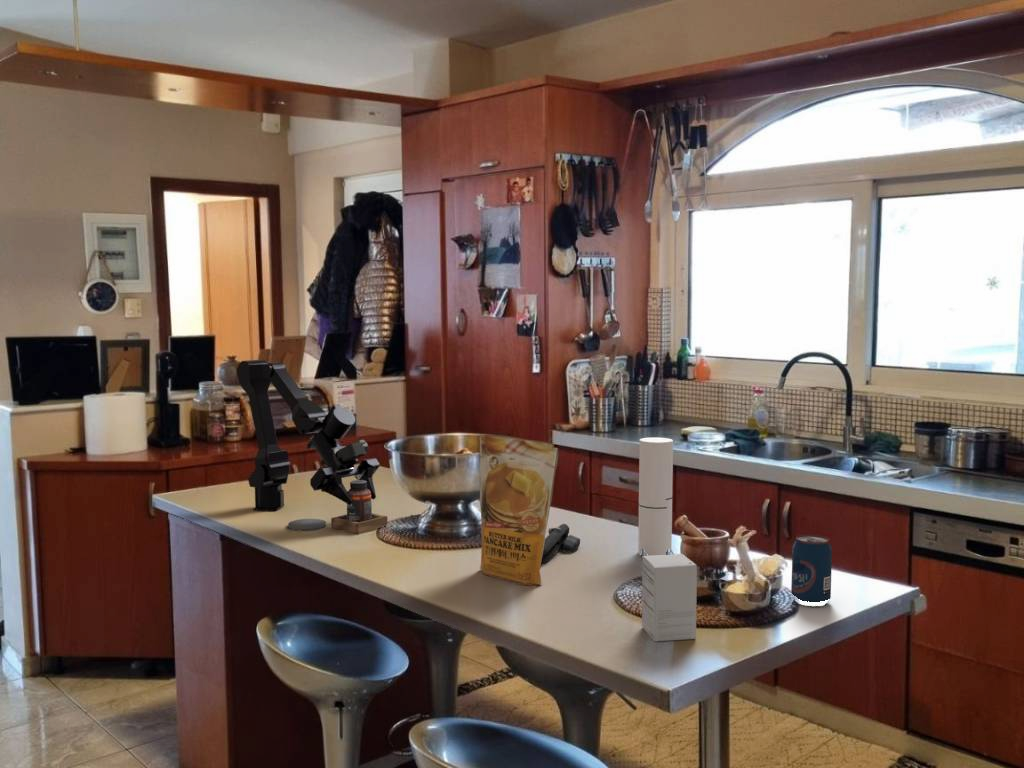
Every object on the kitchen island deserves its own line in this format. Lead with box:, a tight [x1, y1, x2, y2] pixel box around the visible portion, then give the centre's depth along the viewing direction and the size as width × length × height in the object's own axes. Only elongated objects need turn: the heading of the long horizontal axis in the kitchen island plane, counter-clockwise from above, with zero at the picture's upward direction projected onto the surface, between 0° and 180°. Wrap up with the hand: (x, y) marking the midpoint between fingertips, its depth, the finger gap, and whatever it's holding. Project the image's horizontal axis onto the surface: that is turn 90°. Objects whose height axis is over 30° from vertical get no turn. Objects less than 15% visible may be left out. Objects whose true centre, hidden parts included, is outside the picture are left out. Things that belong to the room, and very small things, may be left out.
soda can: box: [790, 534, 833, 602], centre depth 180 cm, size 7×7×12 cm
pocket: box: [330, 513, 389, 535], centre depth 238 cm, size 10×10×2 cm
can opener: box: [541, 523, 581, 565], centre depth 213 cm, size 18×7×6 cm, turn 156°
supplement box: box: [641, 553, 698, 643], centre depth 164 cm, size 7×7×13 cm
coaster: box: [287, 518, 327, 532], centre depth 239 cm, size 9×9×1 cm
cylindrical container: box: [637, 437, 674, 556], centre depth 213 cm, size 7×7×25 cm
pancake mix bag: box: [478, 434, 560, 586], centre depth 196 cm, size 7×19×28 cm, turn 48°
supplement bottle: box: [346, 479, 373, 522], centre depth 237 cm, size 6×6×11 cm
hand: (363, 501), depth 236 cm, fingers open, 7 cm apart
